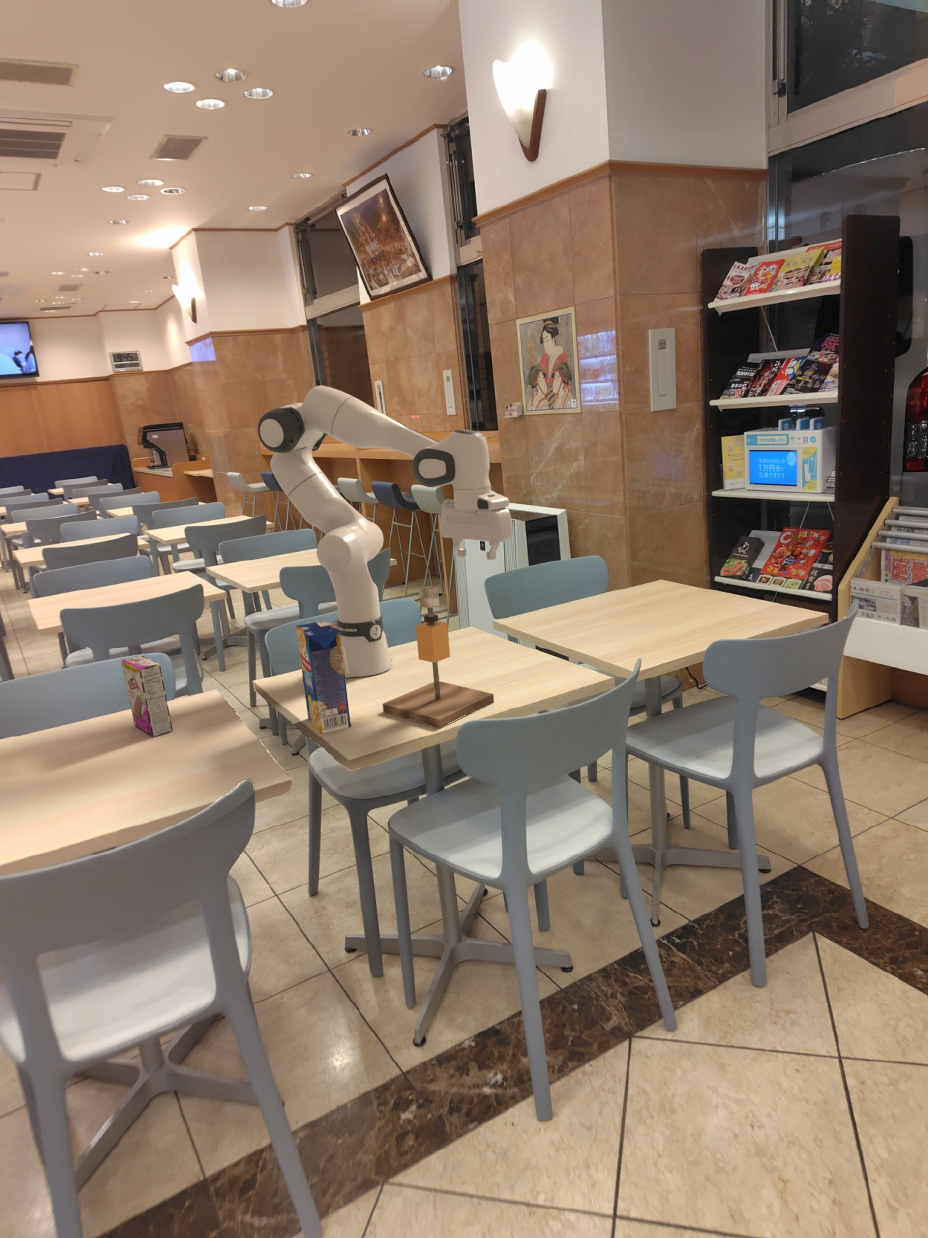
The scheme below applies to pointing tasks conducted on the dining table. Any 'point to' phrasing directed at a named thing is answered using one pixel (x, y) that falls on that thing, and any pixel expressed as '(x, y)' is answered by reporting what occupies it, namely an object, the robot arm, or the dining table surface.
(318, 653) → the blue food box
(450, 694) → the cord stand
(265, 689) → the dining table surface
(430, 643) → the marker sleeve
